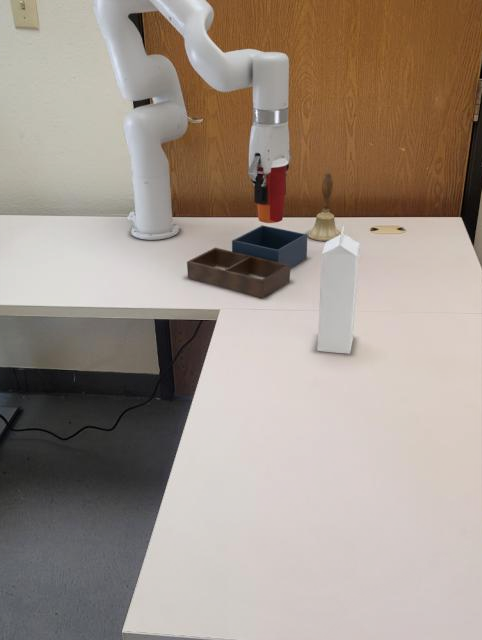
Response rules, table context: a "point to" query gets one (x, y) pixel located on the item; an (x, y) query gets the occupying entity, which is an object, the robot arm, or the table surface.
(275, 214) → the paper cup
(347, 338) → the milk
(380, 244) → the table surface
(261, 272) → the wooden divided tray
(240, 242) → the blue square tray
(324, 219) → the hand bell
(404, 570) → the table surface
